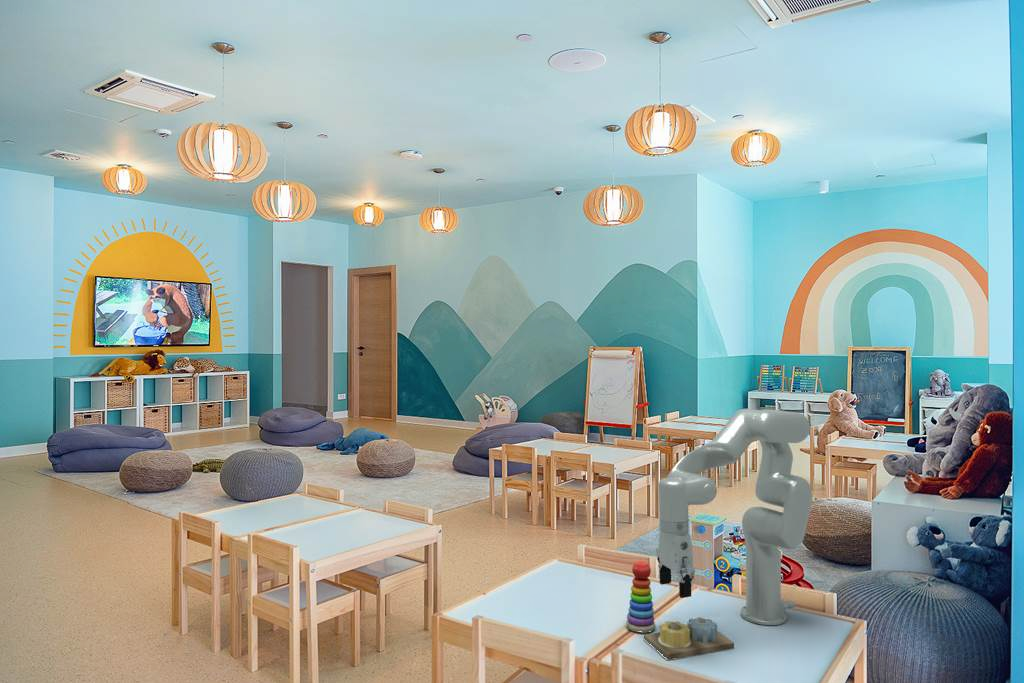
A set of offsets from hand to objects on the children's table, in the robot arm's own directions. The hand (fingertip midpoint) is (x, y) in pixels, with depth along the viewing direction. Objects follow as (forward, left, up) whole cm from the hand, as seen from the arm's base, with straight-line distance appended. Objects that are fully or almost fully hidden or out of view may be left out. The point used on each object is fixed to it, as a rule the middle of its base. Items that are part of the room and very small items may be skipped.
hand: (675, 590), depth 183 cm
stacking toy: (+3, -13, -15) cm, 20 cm away
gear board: (-4, 0, -15) cm, 15 cm away
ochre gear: (0, 0, -13) cm, 13 cm away
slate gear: (-8, 0, -14) cm, 16 cm away
